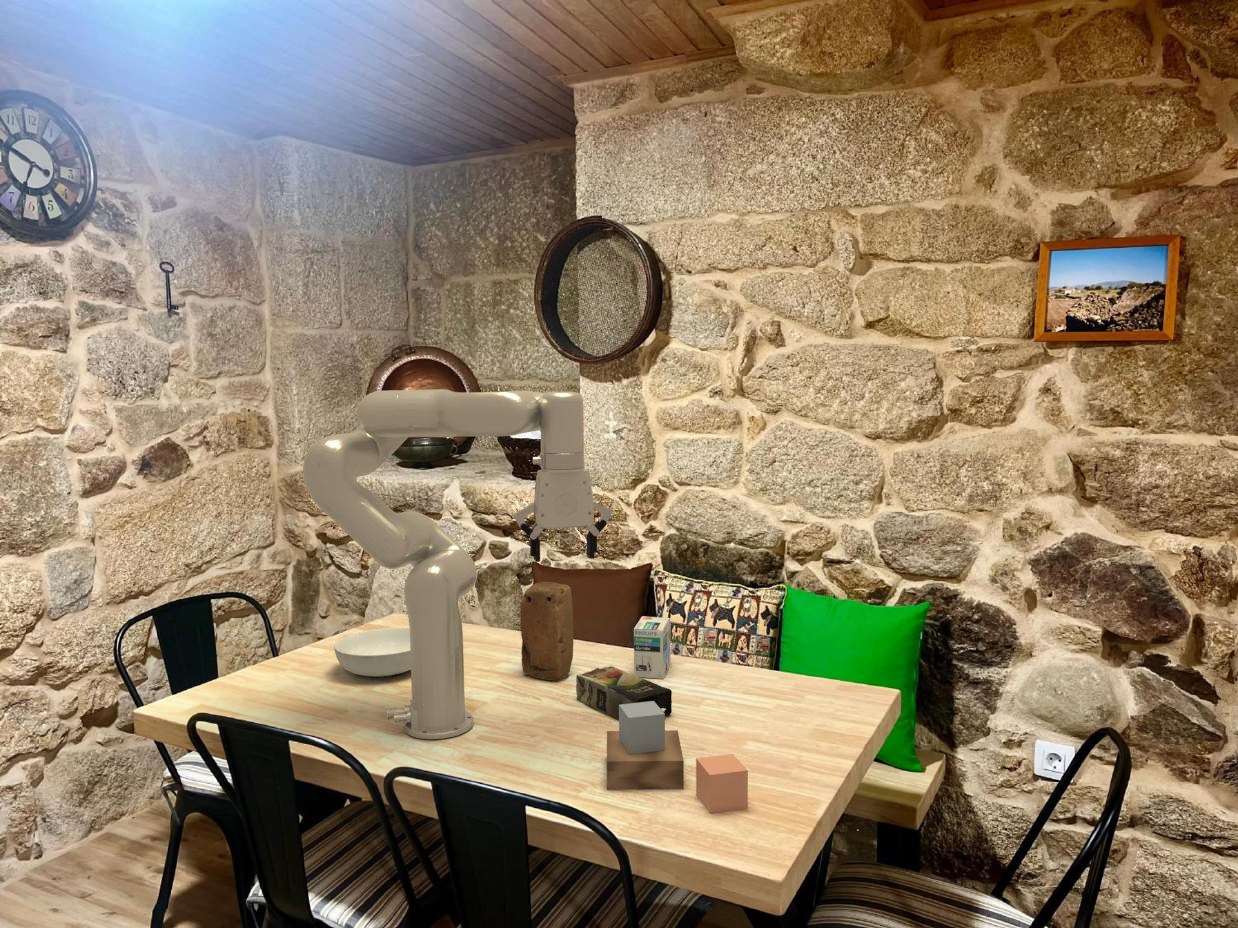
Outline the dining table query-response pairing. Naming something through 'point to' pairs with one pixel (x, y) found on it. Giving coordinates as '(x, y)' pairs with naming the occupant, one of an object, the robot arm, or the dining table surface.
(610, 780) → the base block
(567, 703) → the dining table surface
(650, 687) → the juice carton
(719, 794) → the terracotta cube
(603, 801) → the dining table surface
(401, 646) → the serving bowl
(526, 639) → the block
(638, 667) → the light bulb box
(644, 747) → the grey cube
